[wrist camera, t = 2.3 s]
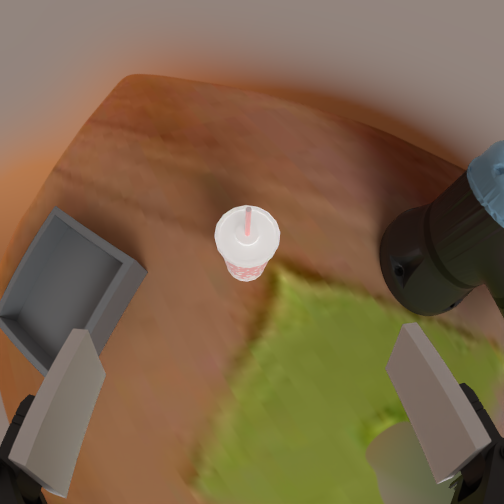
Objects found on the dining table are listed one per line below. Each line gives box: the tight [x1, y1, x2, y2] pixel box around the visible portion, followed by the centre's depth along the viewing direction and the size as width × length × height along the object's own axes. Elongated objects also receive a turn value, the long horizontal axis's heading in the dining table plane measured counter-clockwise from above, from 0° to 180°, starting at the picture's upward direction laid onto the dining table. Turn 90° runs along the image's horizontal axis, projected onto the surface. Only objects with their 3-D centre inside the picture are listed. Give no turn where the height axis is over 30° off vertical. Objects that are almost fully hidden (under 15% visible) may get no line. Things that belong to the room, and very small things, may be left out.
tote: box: [0, 206, 148, 377], centre depth 32 cm, size 18×15×5 cm
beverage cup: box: [215, 205, 280, 281], centre depth 30 cm, size 6×6×14 cm
